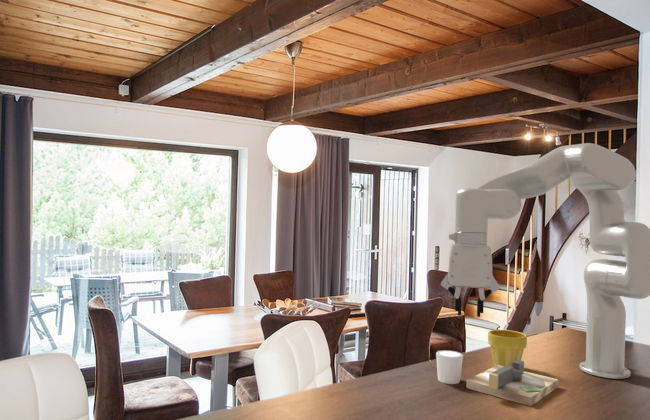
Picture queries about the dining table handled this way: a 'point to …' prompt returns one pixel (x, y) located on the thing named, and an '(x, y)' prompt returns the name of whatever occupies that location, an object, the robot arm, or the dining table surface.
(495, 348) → the plant pot
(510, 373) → the grey dial pointer
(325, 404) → the dining table surface
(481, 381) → the tuner board
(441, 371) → the white cup
